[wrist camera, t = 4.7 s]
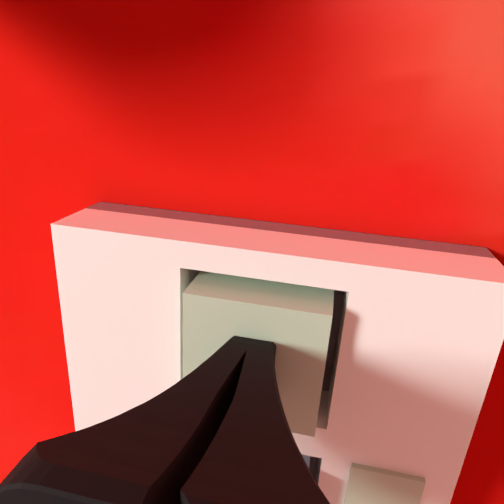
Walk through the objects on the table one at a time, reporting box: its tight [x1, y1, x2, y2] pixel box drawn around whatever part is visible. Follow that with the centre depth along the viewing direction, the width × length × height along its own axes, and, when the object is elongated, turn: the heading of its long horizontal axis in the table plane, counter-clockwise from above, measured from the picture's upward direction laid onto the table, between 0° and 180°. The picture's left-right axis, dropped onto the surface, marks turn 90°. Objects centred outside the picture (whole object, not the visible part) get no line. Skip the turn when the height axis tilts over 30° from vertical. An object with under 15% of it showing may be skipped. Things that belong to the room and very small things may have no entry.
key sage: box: [183, 271, 334, 437], centre depth 14 cm, size 4×4×2 cm
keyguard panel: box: [51, 202, 504, 504], centre depth 17 cm, size 14×20×3 cm
